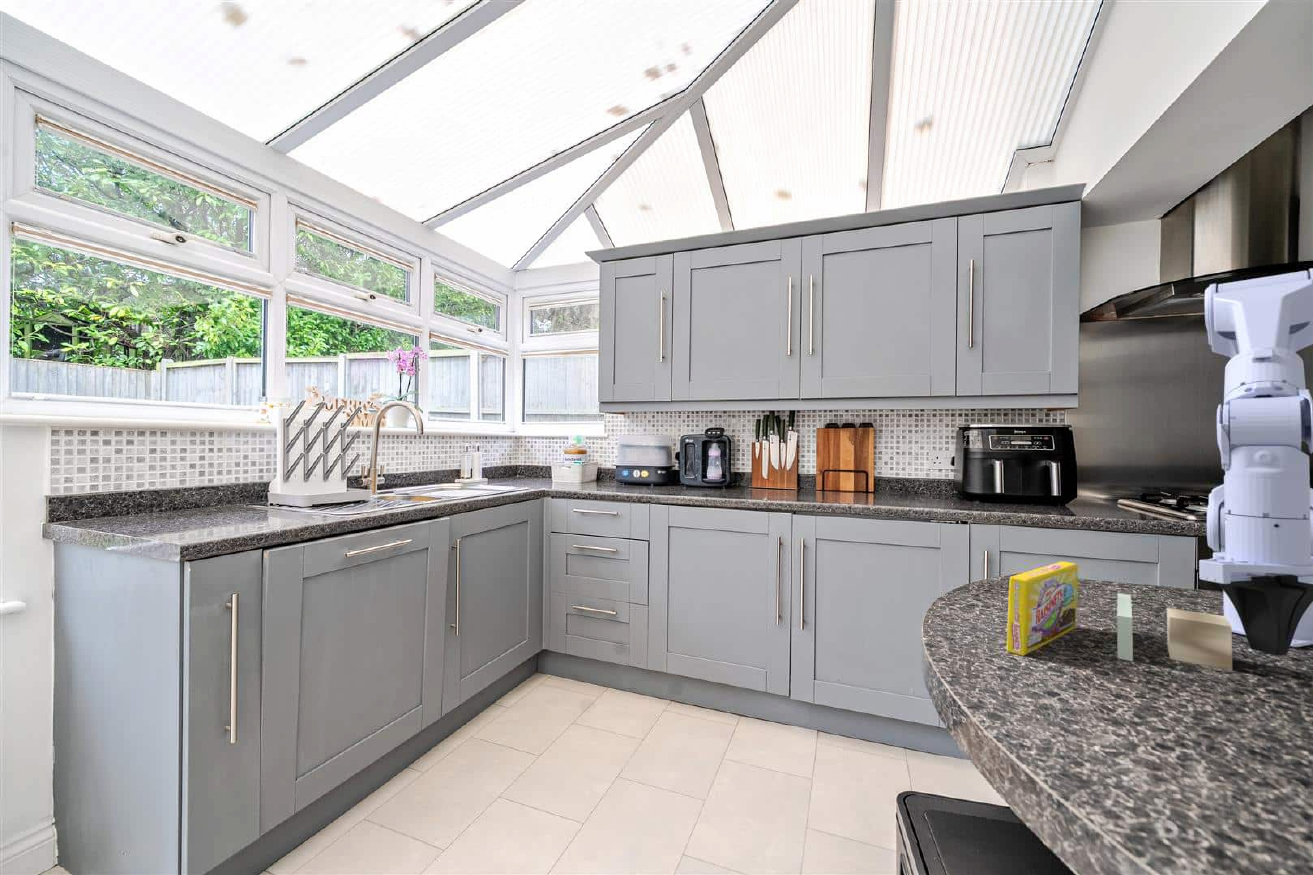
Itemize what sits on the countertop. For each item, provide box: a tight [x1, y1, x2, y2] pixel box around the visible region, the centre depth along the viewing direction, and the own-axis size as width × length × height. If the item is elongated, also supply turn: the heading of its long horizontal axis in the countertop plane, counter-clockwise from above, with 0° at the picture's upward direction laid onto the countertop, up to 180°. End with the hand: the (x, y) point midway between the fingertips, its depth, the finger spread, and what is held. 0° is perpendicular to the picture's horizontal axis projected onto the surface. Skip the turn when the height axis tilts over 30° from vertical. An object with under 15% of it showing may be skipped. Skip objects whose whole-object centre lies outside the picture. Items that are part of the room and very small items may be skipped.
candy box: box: [1006, 560, 1079, 657], centre depth 62 cm, size 16×2×8 cm, turn 126°
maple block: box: [1166, 607, 1233, 672], centre depth 57 cm, size 4×4×4 cm
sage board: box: [1116, 592, 1134, 662], centre depth 61 cm, size 1×12×4 cm, turn 139°
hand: (1268, 651), depth 54 cm, fingers closed
